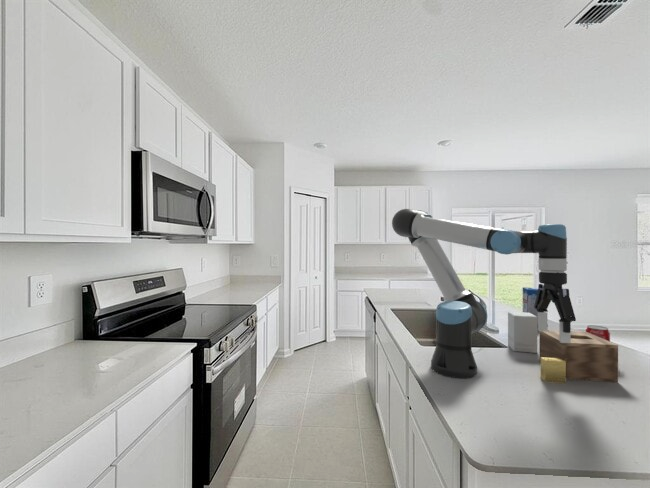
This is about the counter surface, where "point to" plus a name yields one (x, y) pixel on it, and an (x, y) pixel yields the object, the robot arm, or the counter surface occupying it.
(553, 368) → the block
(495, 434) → the counter surface
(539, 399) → the counter surface
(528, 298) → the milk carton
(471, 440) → the counter surface
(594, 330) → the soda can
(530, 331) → the supplement box
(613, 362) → the coin box
